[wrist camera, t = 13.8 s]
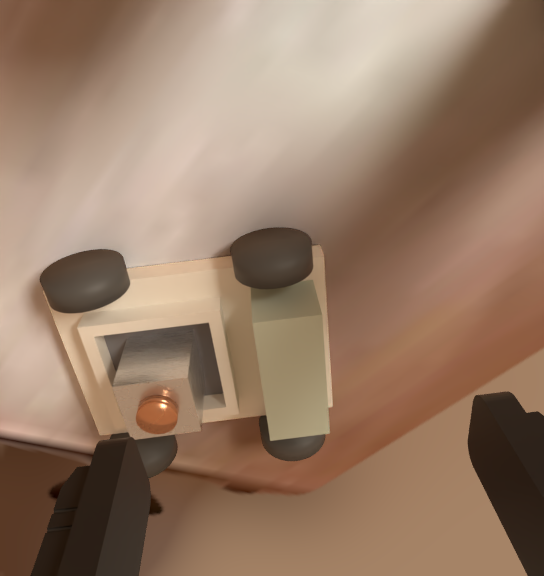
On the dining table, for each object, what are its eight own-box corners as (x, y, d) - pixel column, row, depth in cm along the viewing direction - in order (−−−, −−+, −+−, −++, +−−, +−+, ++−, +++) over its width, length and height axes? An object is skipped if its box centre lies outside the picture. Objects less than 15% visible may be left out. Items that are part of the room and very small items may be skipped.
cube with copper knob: (193, 329, 41) (186, 386, 35) (205, 379, 44) (200, 440, 38) (127, 337, 41) (108, 396, 35) (143, 387, 44) (129, 450, 38)
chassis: (318, 222, 40) (333, 263, 34) (330, 407, 50) (343, 464, 44) (41, 256, 40) (7, 303, 34) (110, 434, 50) (93, 495, 44)
